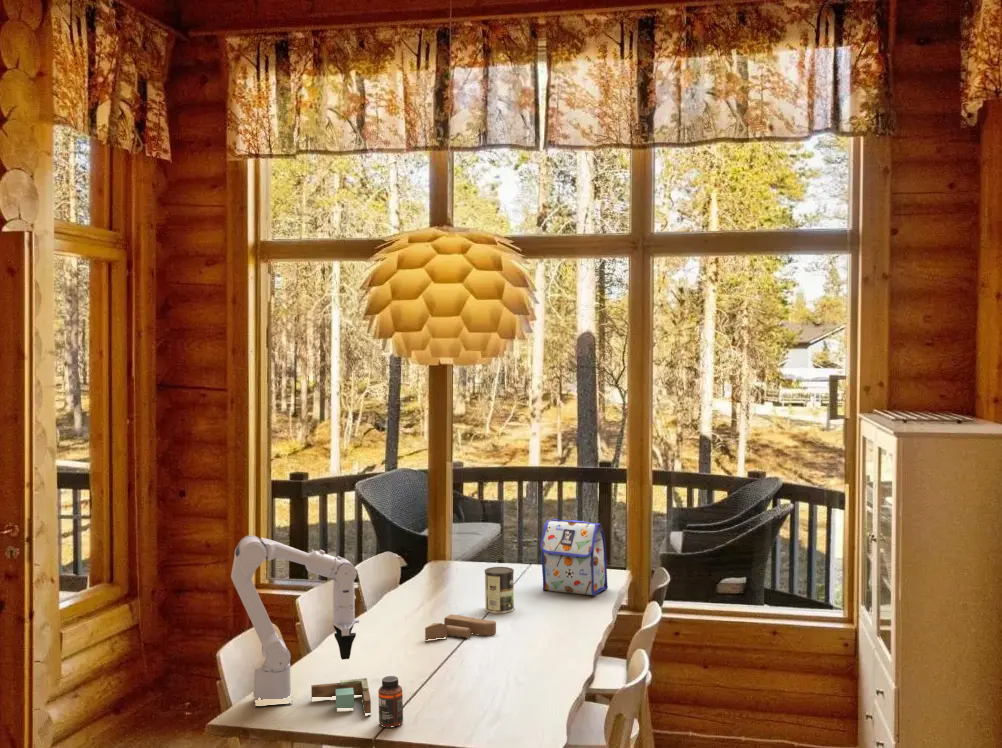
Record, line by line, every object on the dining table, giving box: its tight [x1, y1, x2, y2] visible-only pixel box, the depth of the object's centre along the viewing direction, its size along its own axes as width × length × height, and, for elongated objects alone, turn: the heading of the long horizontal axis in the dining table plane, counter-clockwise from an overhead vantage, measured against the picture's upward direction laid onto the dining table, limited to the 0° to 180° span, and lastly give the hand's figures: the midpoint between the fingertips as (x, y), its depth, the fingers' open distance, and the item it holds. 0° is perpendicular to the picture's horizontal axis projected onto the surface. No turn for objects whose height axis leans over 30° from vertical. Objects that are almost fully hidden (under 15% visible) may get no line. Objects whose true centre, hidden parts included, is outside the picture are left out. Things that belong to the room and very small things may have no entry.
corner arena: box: [310, 677, 372, 714], centre depth 234 cm, size 14×14×5 cm
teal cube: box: [335, 688, 355, 709], centre depth 234 cm, size 4×4×4 cm
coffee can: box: [484, 566, 515, 614], centre depth 321 cm, size 10×10×14 cm
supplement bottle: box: [378, 675, 404, 728], centre depth 224 cm, size 6×6×11 cm
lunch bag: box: [539, 518, 609, 597], centre depth 344 cm, size 23×17×27 cm
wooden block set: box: [424, 614, 497, 641], centre depth 290 cm, size 17×6×18 cm
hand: (344, 654), depth 246 cm, fingers open, 7 cm apart
